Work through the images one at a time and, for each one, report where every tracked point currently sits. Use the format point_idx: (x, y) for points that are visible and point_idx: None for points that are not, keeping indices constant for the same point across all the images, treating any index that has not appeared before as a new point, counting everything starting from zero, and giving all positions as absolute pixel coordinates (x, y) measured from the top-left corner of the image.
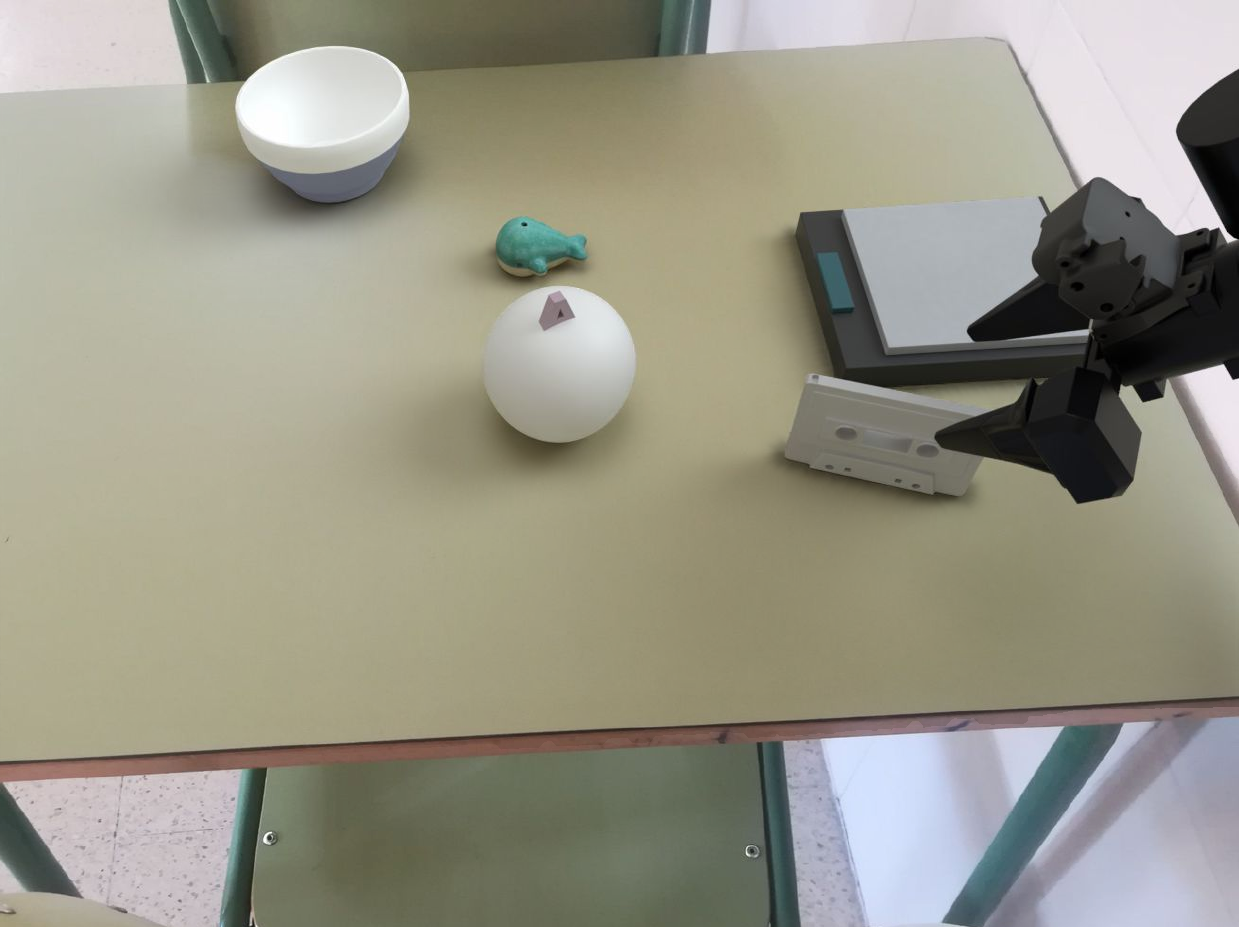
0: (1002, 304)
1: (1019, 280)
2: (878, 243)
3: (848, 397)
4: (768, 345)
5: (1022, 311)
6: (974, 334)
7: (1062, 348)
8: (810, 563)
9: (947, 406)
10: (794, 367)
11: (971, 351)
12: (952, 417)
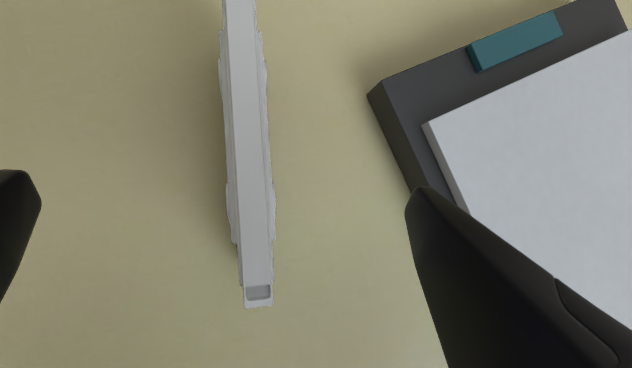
0: (497, 245)
1: (599, 263)
2: (595, 79)
3: (226, 27)
4: (404, 4)
5: (487, 307)
6: (414, 205)
7: None
8: (66, 109)
9: (249, 201)
10: (381, 38)
11: None
12: (238, 217)
